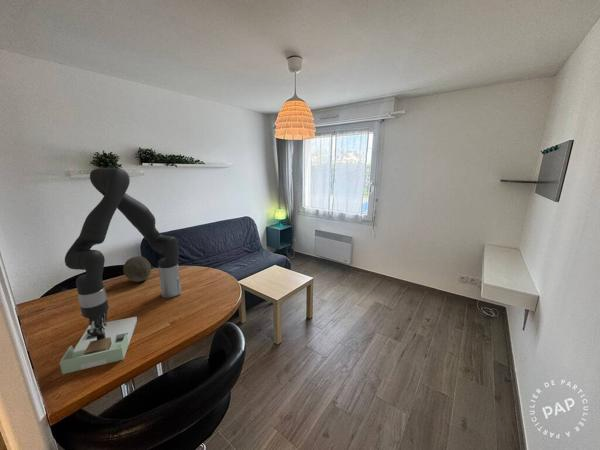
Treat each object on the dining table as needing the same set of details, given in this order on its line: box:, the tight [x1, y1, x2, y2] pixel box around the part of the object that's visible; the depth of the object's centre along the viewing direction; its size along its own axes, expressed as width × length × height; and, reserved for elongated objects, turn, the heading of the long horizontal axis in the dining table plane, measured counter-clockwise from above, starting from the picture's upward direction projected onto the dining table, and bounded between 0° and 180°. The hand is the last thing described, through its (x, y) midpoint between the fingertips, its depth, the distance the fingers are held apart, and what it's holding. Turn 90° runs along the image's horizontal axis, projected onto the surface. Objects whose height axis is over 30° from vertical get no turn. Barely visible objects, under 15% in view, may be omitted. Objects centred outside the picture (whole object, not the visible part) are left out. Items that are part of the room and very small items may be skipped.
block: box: [84, 337, 112, 355], centre depth 86 cm, size 6×6×3 cm
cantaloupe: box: [122, 255, 152, 283], centre depth 140 cm, size 14×14×15 cm
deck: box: [59, 316, 138, 375], centre depth 92 cm, size 17×24×5 cm
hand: (101, 340), depth 90 cm, fingers closed
